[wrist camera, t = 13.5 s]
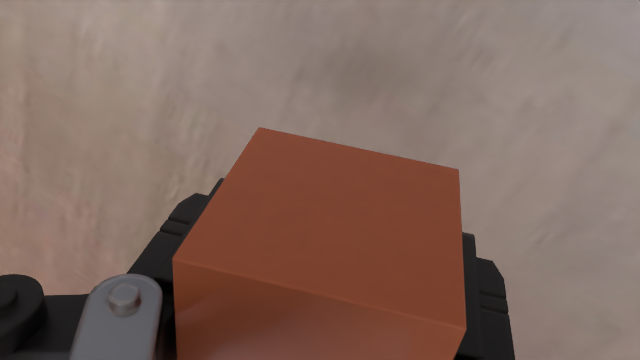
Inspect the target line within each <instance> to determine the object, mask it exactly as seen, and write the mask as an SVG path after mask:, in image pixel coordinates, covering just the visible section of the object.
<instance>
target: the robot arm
mask: <svg viewBox="0 0 640 360" xmlns="http://www.w3.org/2000/svg"><path fill="white" fill-rule="evenodd" d="M224 179H225V178H221V179H220V180H219V181H218V182H217V184H216V185H215V187H214V188H213V190H212V191H211V193H210V194H209V196H207V195H202V194H198V193H195V194H193V195H192V196H190V197H188V198H187V199H185V200H183V201H182V202H180V203H179V204H178V205H177V206H176V208H175V209H174V210H173V212H172V213H171V214H170V216H169V217H168V220H166V221H165V223H164V224H163V225H162V227H161V228H160V231H159V232H157V233H156V235H155V236H154V237H153V239H152V240H151V241H150V243H149V244H148V245H147V247H146V248H145V249H144V251H143V252H142V253H141V255H140V256H139V258H138V259H137V260H136V262H135V263H134V264H133V266H132V267H131V268H130V270H129V271H128V272H127V274H122V275H117V276H114V277H111V278H109V279H106V280H104V281H103V282H101V283H100V284H98V285H97V286H96V287H95V288H94V289H93V290H92V291H91V292H90V294H82V295H48V296H44V293H43V289H42V287H41V285H40V284H39V282H38V281H36V280H35V279H33V278H31V277H29V276H25V275H18V274H10V275H2V276H0V360H177V352H176V330H175V308H174V286H173V264H172V258H173V256H174V255H175V253H176V252H177V250H178V249H179V247H180V246H181V244H182V243H183V241H184V240H185V238H186V237H187V235H188V234H189V232H190V231H191V229H192V228H193V226H194V225H195V223H196V222H197V220H198V219H199V217H200V216H201V214H202V212H203V211H204V209H205V208H206V206H207V205H208V203H209V202H210V200H211V199H212V197H213V196H214V194H215V193H216V191H217V190H218V188H219V187H220V185H221V184H222V182H223V181H224ZM462 246H463V266H464V287H465V307H466V328H467V329H466V332H465V334H464V336H463V339H462V341H461V343H460V346H459V348H458V350H457V353H456V355H455V357H454V360H515V355H514V348H513V341H512V334H511V327H510V320H509V315H508V305H507V300H506V291H505V284H504V278H503V277H502V275H501V274H500V272H499V270H498V269H497V267H496V266H495V264H494V263H493V261H490V260H486V259H482V258H477V257H476V247H475V237H474V235H473V234H469V233H464V232H462Z"/></svg>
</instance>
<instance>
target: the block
mask: <svg viewBox="0 0 640 360" xmlns="http://www.w3.org/2000/svg"><path fill="white" fill-rule="evenodd" d="M172 264H173V286H174V308H175V330H176V352H177V360H454V357H455V355H456V353H457V350H458V348H459V346H460V343H461V341H462V339H463V336H464V334H465V332H466V329H467V328H466V307H465V287H464V266H463V246H462V225H461V205H460V184H459V170H457V169H454V168H449V167H444V166H439V165H435V164H430V163H425V162H421V161H416V160H411V159H407V158H402V157H397V156H392V155H388V154H383V153H378V152H374V151H369V150H364V149H359V148H355V147H350V146H345V145H341V144H336V143H331V142H326V141H322V140H317V139H312V138H308V137H303V136H298V135H294V134H289V133H284V132H279V131H275V130H270V129H265V128H261V127H260V128H258V129H257V131H256V132H255V134H254V135H253V137H252V138H251V140H250V141H249V143H248V144H247V146H246V147H245V149H244V151H243V152H242V154H241V155H240V157H239V158H238V160H237V161H236V163H235V164H234V166H233V167H232V169H231V170H230V172H229V173H228V175H227V176H226V178H225V179H224V181H223V182H222V184H221V185H220V187H219V188H218V190H217V191H216V193H215V194H214V196H213V197H212V199H211V200H210V202H209V203H208V205H207V206H206V208H205V209H204V211H203V212H202V214H201V216H200V217H199V219H198V220H197V222H196V223H195V225H194V226H193V228H192V229H191V231H190V232H189V234H188V235H187V237H186V238H185V240H184V241H183V243H182V244H181V246H180V247H179V249H178V250H177V252H176V253H175V255H174V256H173V258H172Z"/></svg>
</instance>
